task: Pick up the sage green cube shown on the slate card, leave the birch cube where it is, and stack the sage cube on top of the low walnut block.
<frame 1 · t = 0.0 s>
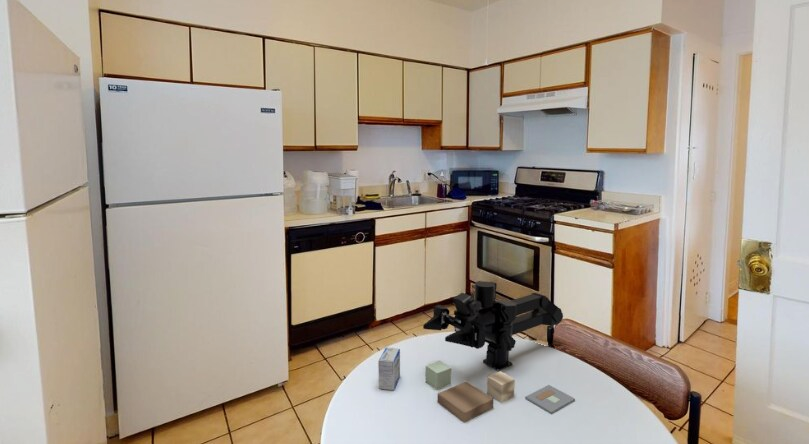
hand: (434, 332, 112), 17 cm above the table, tool horizontal, fingers open, 9 cm apart
walnut block: (464, 406, 108), on the table
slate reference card: (549, 399, 111), on the table
birch cube: (500, 395, 113), on the table
medicine box: (389, 383, 118), on the table
sage cube: (437, 383, 118), on the table
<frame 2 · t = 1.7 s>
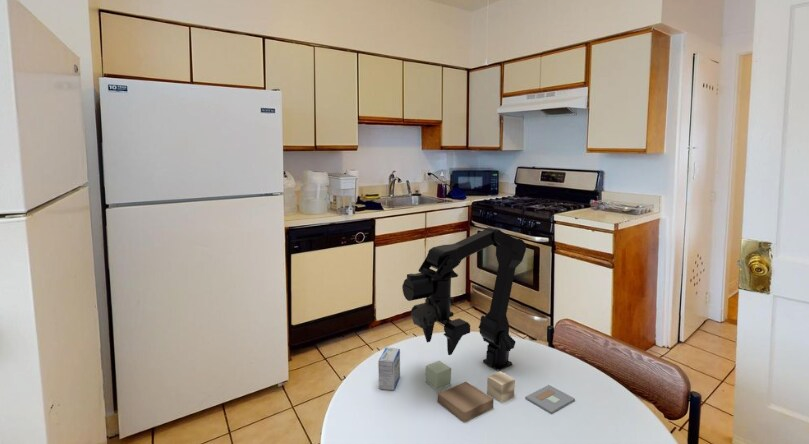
hand: (438, 348, 116), 10 cm above the table, tool pointing down, fingers open, 9 cm apart
nothing on the table moved.
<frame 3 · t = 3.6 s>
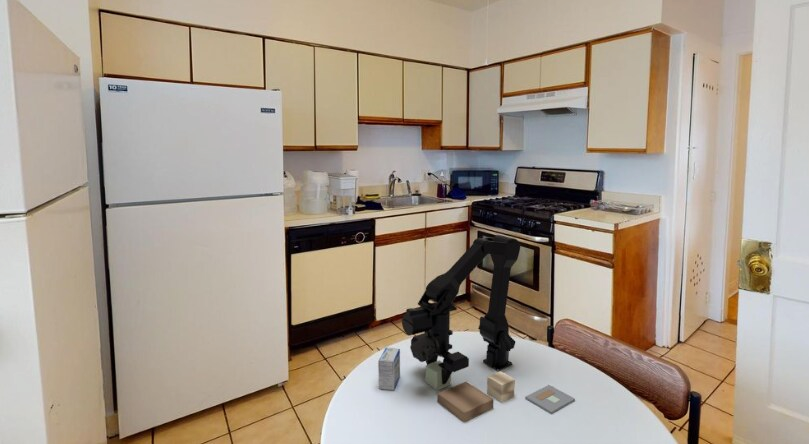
hand: (438, 379, 118), 1 cm above the table, tool pointing down, fingers closed on sage cube, 5 cm apart
sage cube: (437, 383, 118), on the table, touching gripper
everything else where it was.
when the fingers open (5 cm above the table, at t = 7.7 s): sage cube drops 1 cm, point 2 cm above the table.
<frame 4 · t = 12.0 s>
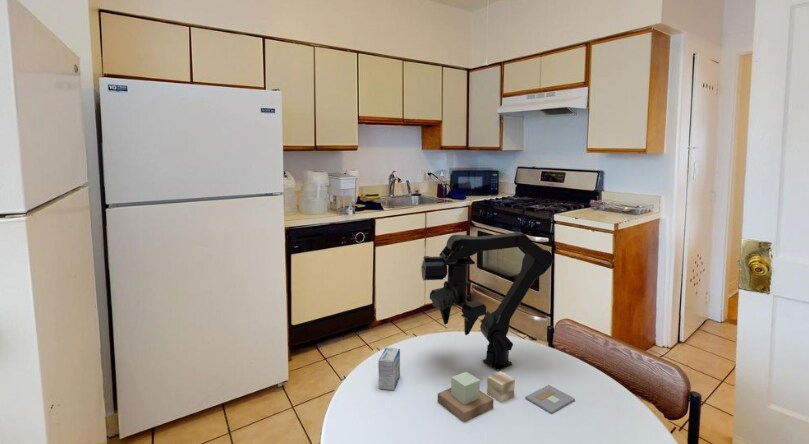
hand: (456, 329, 125), 12 cm above the table, tool pointing down, fingers open, 9 cm apart
sage cube: (465, 396, 107), point 2 cm above the table
everything else where it was.
at the end: sage cube 0.3 cm off-centre on the walnut block, point 3.0 cm above the walnut block's base; sage cube tilted 0°; birch cube moved 0.1 cm from its start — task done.
